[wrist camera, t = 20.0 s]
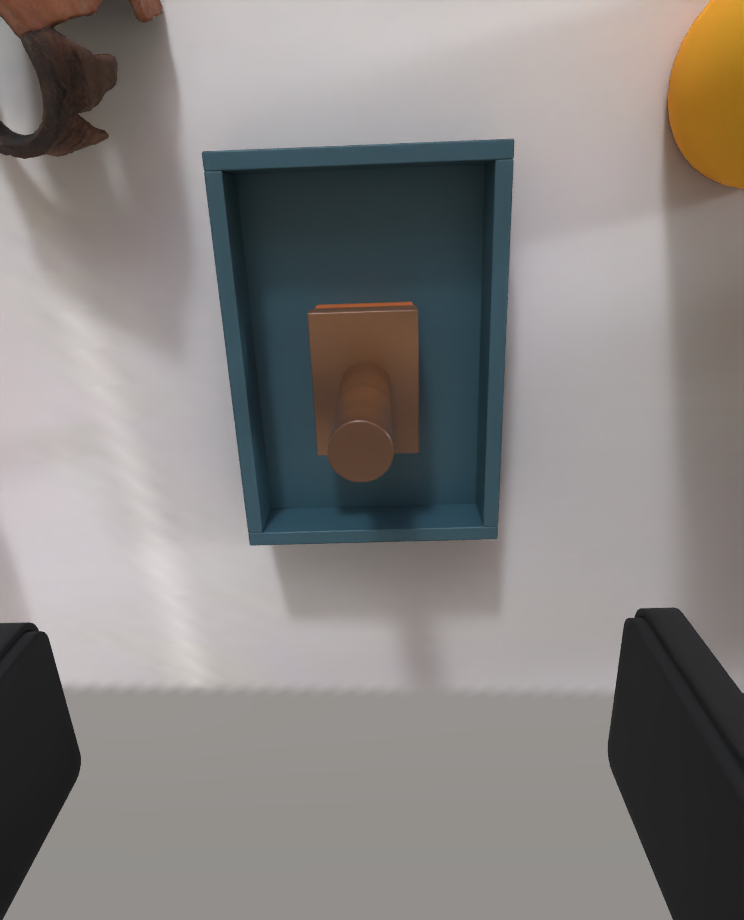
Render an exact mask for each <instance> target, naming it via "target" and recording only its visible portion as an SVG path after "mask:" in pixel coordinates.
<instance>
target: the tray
mask: <svg viewBox="0 0 744 920" xmlns="http://www.w3.org/2000/svg"><path fill="white" fill-rule="evenodd" d="M202 158H203V166H204V171H205V172H204V175H205V183H206V191H207V200H208V208H209V216H210V224H211V232H212V240H213V249H214V257H215V265H216V273H217V281H218V289H219V298H220V306H221V314H222V322H223V330H224V338H225V347H226V355H227V363H228V371H229V379H230V387H231V396H232V404H233V412H234V420H235V428H236V436H237V445H238V453H239V461H240V469H241V477H242V485H243V494H244V502H245V510H246V518H247V526H248V532H249V542H250V545H285V544H324V543H363V542H401V541H440V540H479V539H497V532H498V527H497V526H498V511H499V487H500V464H501V441H502V417H503V394H504V371H505V347H506V324H507V300H508V277H509V254H510V230H511V207H512V184H513V158H514V139H497V140H472V141H448V142H423V143H399V144H375V145H350V146H326V147H301V148H277V149H253V150H228V151H204V152H202ZM386 302H412V303H413V305H416V306H417V308H418V331H419V453H399V454H394V457H393V461H392V463H391V465H390V467H389V468H388V470H387V471H386V472H385V473H384V474H383V475H382V476H380V477H379V478H377V479H375V480H372V481H369V482H353V481H349V480H347V479H344V478H343V477H341V476H340V475H338V474H337V473H336V472H335V471H334V469H333V468H332V467H331V465H330V463H329V461H328V457H327V455H326V456H318V455H317V441H316V427H315V413H314V399H313V385H312V371H311V357H310V343H309V329H308V312H309V311H310V309H313V308H315V307H316V306H317V305H326V304H356V303H386Z"/></svg>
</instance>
